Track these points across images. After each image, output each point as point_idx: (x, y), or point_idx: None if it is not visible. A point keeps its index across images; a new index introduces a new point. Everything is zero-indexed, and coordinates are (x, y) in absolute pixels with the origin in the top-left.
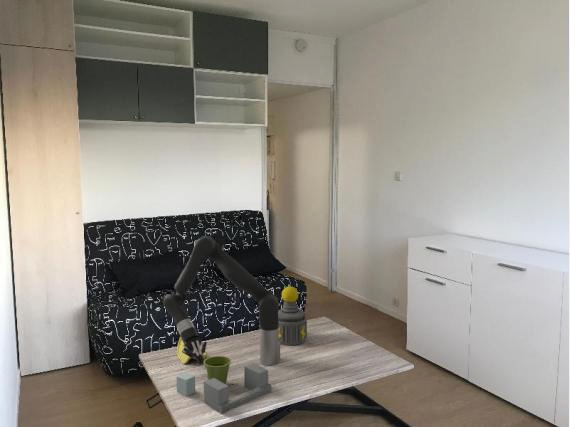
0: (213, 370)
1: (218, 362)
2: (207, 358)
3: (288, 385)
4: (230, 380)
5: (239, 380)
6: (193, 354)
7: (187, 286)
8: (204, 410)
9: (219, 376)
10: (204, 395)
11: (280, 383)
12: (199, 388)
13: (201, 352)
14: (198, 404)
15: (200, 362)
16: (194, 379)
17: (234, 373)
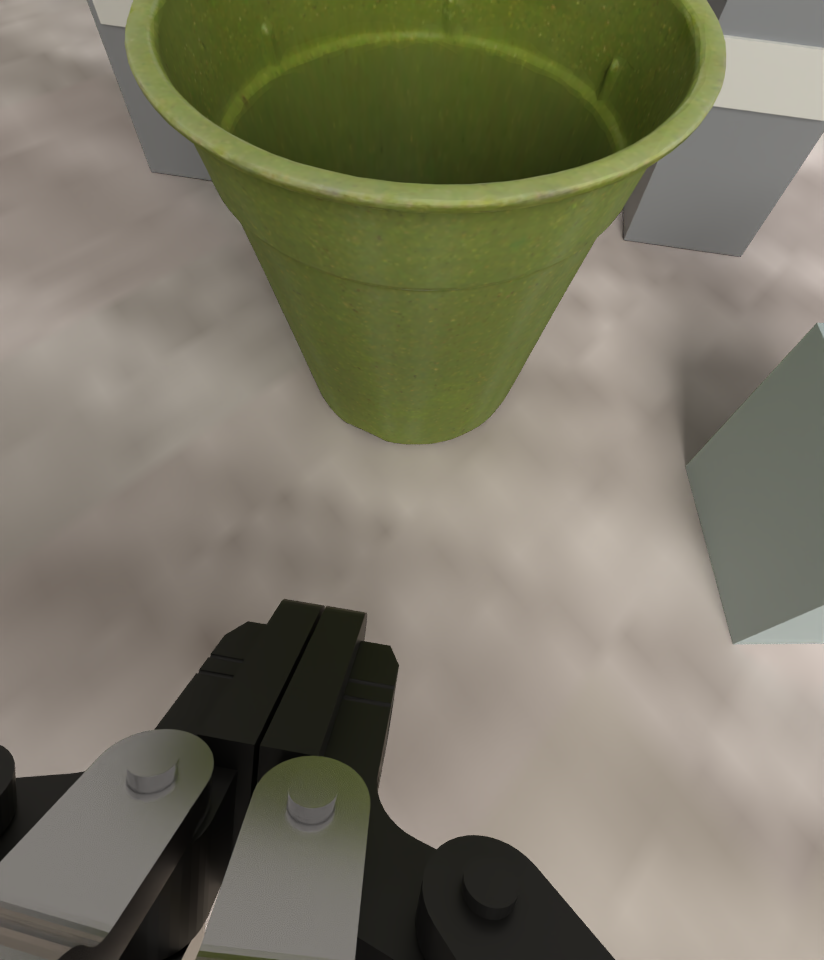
0: (607, 64)
1: (250, 223)
2: (472, 191)
3: (75, 4)
4: (221, 342)
5: (172, 276)
6: (515, 895)
7: None
8: (798, 194)
9: (502, 141)
10: (786, 179)
11: (66, 43)
12: (604, 480)
13: (81, 792)
14: (795, 276)
15: (373, 645)
16: (793, 363)
17: (17, 416)
